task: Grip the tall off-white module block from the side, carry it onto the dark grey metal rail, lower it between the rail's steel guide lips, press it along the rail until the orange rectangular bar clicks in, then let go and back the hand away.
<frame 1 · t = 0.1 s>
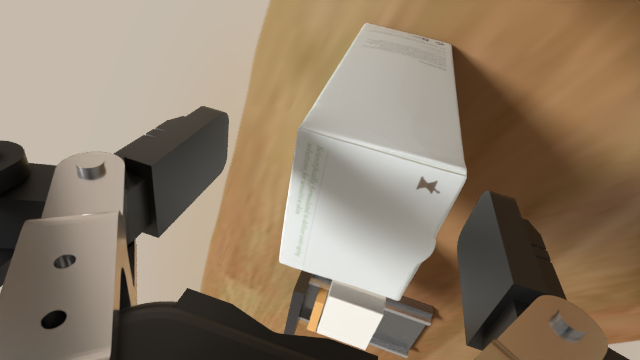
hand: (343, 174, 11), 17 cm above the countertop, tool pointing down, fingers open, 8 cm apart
module block: (370, 226, 35), on the countertop
skincare box: (394, 88, 27), on the countertop
metal rail: (358, 306, 43), on the countertop
orange rectangular bar: (317, 309, 41), point 2 cm above the countertop, slide at 0.0 cm
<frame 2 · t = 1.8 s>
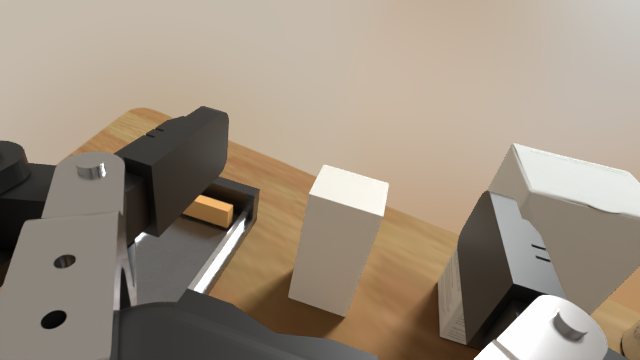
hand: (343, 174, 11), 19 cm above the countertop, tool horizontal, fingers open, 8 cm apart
module block: (322, 288, 31), on the countertop
skincare box: (480, 323, 31), on the countertop
metal rail: (173, 257, 31), on the countertop
orange rectangular bar: (200, 207, 33), point 2 cm above the countertop, slide at 0.0 cm
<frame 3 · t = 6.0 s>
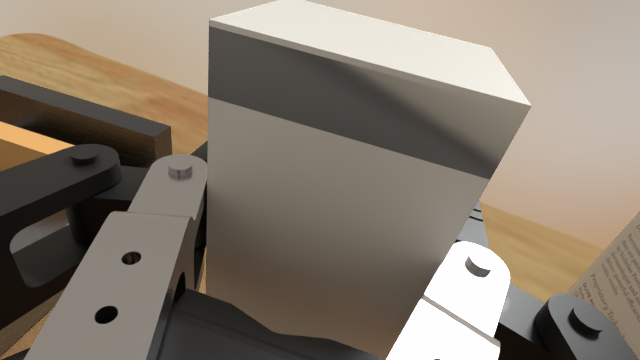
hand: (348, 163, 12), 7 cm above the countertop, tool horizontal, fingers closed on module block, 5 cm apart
module block: (294, 344, 13), on the countertop, touching gripper
orange rectangular bar: (36, 159, 15), point 2 cm above the countertop, slide at 0.0 cm
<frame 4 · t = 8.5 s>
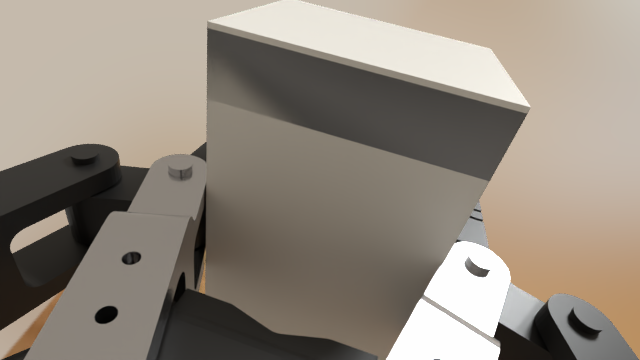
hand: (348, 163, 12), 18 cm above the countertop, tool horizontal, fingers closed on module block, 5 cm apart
module block: (294, 345, 13), point 12 cm above the countertop, touching gripper
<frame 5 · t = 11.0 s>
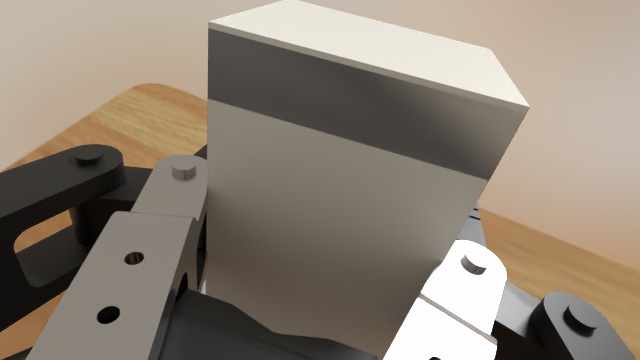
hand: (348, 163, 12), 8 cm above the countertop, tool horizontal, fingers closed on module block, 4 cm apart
module block: (295, 345, 13), point 1 cm above the countertop, touching gripper, orange rectangular bar
when the fingers open (8 cm above the countertop, at t = 11.3 s): module block stays where it is, resting on metal rail.
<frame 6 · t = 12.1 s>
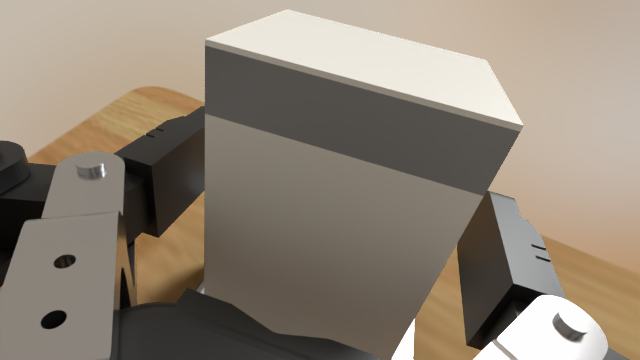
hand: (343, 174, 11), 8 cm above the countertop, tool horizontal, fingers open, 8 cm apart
module block: (293, 351, 13), point 1 cm above the countertop, touching metal rail
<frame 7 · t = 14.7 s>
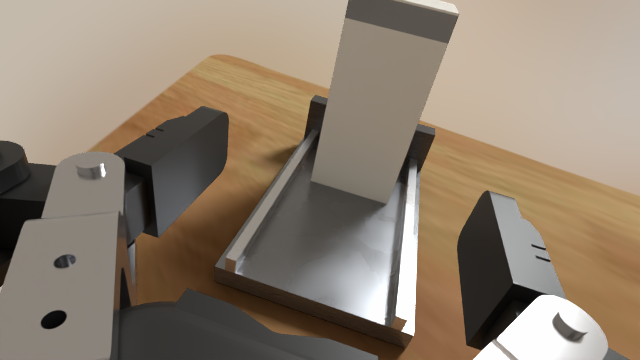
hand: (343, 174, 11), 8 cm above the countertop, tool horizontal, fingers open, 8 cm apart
module block: (354, 176, 24), point 1 cm above the countertop, touching metal rail
metal rail: (341, 213, 22), on the countertop
orange rectangular bar: (364, 143, 25), point 2 cm above the countertop, slide at 1.0 cm
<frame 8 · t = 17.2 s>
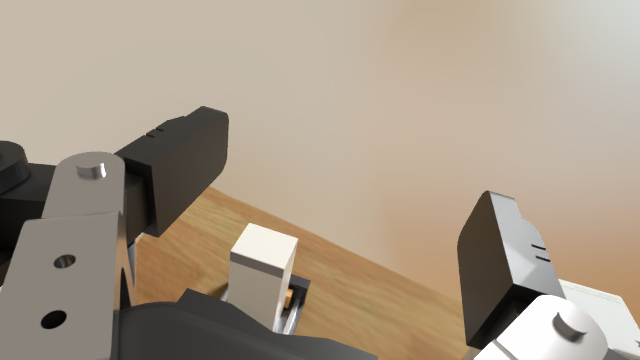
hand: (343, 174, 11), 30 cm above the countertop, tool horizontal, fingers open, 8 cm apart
module block: (255, 315, 39), point 1 cm above the countertop, touching metal rail
metal rail: (243, 345, 37), on the countertop
orange rectangular bar: (265, 290, 40), point 2 cm above the countertop, slide at 1.0 cm
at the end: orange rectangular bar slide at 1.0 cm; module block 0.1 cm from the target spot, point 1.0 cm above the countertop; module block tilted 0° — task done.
